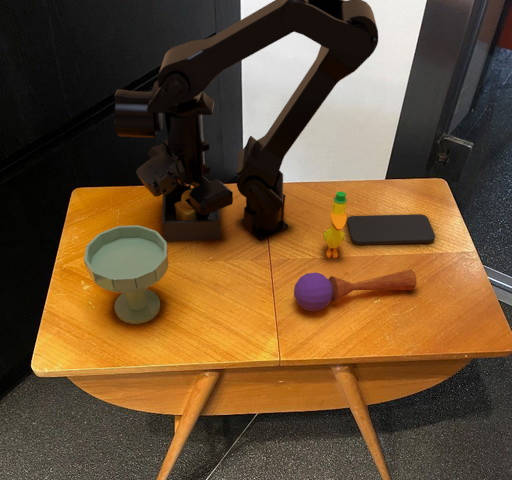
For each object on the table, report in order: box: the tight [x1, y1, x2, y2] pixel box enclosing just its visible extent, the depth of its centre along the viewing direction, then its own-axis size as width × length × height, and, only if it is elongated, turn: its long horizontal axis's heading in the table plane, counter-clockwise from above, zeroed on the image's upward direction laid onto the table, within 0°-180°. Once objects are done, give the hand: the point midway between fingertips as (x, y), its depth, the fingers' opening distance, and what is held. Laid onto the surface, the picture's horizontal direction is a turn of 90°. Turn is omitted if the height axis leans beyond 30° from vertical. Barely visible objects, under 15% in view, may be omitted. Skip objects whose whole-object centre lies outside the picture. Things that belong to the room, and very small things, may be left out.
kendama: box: [293, 269, 417, 312], centre depth 86 cm, size 6×6×20 cm
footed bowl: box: [83, 224, 170, 325], centre depth 81 cm, size 11×11×12 cm
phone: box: [346, 213, 436, 245], centre depth 99 cm, size 7×1×15 cm
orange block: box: [175, 190, 208, 221], centre depth 97 cm, size 4×4×6 cm
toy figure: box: [322, 191, 348, 259], centre depth 90 cm, size 7×4×12 cm, turn 177°
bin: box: [161, 187, 222, 242], centre depth 98 cm, size 10×10×4 cm
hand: (192, 216), depth 99 cm, fingers open, 6 cm apart
